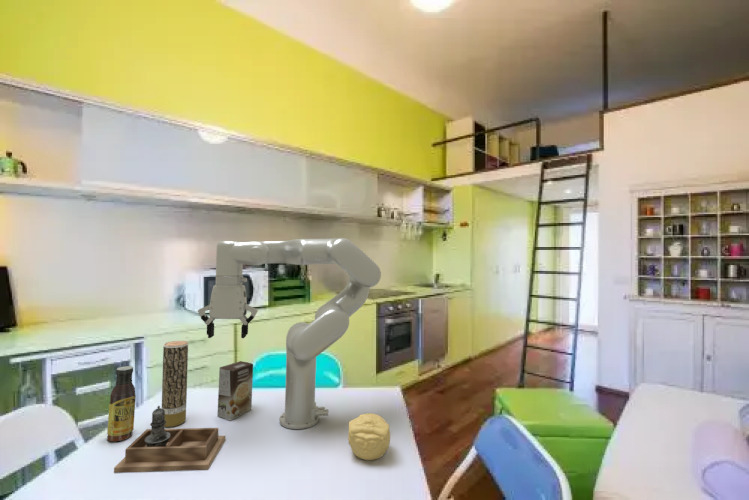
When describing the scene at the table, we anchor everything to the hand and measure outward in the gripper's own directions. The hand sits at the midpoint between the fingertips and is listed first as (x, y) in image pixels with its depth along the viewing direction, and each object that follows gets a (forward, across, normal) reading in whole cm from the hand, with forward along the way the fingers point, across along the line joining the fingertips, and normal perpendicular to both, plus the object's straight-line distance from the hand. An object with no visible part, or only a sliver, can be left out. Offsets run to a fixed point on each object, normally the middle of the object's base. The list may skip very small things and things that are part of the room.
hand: (227, 337), depth 109 cm
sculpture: (+29, -43, +15) cm, 54 cm away
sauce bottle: (+28, +28, +3) cm, 40 cm away
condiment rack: (+28, +9, +13) cm, 32 cm away
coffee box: (+28, 0, -11) cm, 31 cm away
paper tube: (+28, +17, -5) cm, 33 cm away
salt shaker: (+27, +13, +13) cm, 33 cm away
